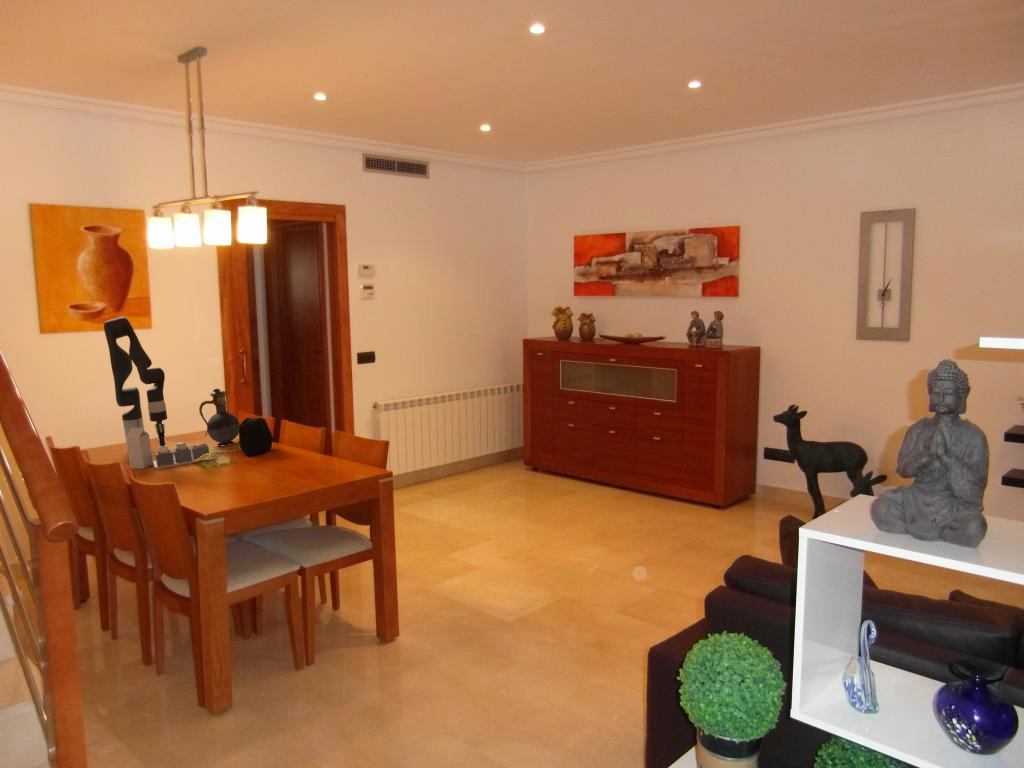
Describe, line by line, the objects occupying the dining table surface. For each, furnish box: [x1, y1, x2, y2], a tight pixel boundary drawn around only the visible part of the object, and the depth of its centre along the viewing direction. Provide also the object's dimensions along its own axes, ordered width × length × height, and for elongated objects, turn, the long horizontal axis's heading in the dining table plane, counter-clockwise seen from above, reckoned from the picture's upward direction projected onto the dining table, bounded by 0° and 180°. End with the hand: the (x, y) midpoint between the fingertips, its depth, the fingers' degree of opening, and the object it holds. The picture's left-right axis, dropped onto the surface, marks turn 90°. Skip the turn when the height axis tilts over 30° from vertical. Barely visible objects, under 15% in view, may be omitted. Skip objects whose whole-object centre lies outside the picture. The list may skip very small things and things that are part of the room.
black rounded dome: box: [237, 416, 275, 456], centre depth 377 cm, size 18×18×17 cm
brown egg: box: [193, 442, 205, 448], centre depth 373 cm, size 4×4×5 cm
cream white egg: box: [157, 444, 170, 454], centre depth 365 cm, size 4×4×5 cm
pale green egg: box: [175, 442, 188, 451], centre depth 369 cm, size 4×4×5 cm
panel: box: [152, 443, 210, 470], centre depth 370 cm, size 14×26×6 cm, turn 119°
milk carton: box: [125, 428, 154, 469], centre depth 363 cm, size 7×7×19 cm
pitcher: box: [198, 388, 241, 447], centre depth 395 cm, size 11×19×30 cm, turn 136°
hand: (162, 445), depth 365 cm, fingers closed
